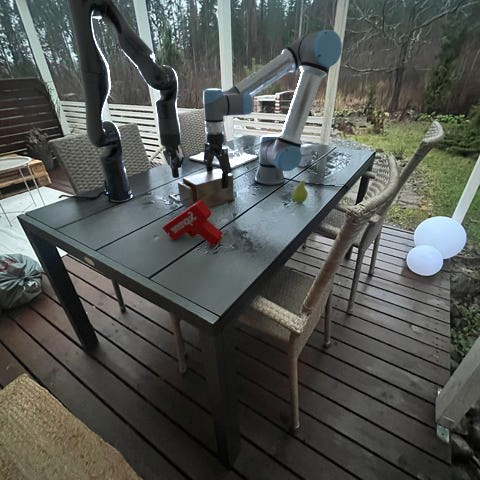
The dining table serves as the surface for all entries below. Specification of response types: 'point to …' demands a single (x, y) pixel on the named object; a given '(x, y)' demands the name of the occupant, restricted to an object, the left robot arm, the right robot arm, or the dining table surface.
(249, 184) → the dining table surface
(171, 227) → the toy gun
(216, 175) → the wooden drawer box
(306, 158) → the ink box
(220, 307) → the dining table surface
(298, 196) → the fruit
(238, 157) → the relief map
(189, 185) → the drawer
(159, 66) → the left robot arm
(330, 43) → the right robot arm
